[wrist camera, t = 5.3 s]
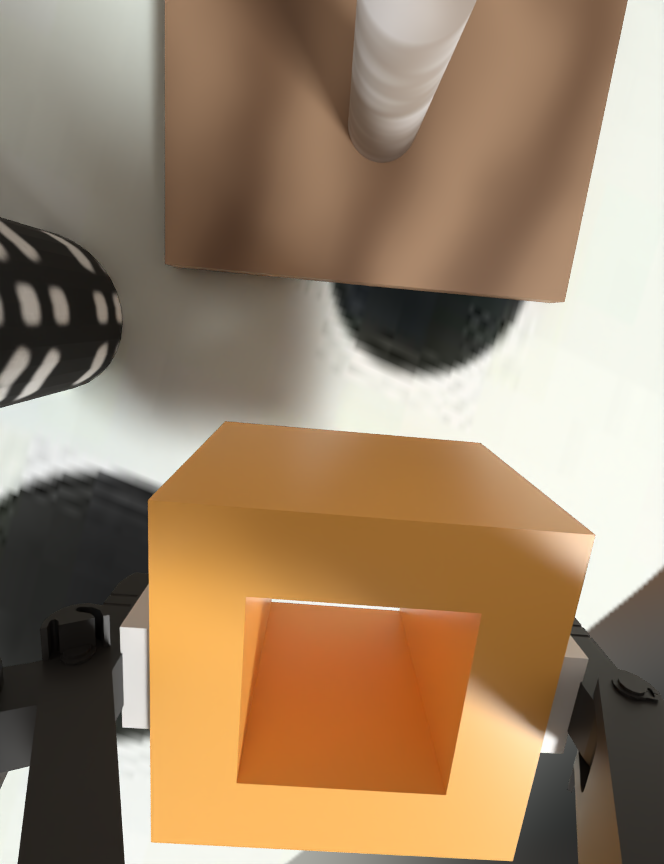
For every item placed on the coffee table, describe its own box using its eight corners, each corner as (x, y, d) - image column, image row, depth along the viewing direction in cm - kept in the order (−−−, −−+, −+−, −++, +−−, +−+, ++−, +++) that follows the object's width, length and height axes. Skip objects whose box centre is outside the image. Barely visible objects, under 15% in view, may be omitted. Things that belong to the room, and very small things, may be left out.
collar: (217, 642, 18) (151, 842, 11) (225, 421, 16) (147, 499, 9) (442, 657, 18) (512, 861, 11) (480, 443, 16) (595, 534, 9)
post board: (175, 267, 24) (45, 225, 13) (176, -62, 20) (2, -482, 10) (550, 302, 24) (723, 291, 13) (614, -14, 21) (915, -369, 10)
